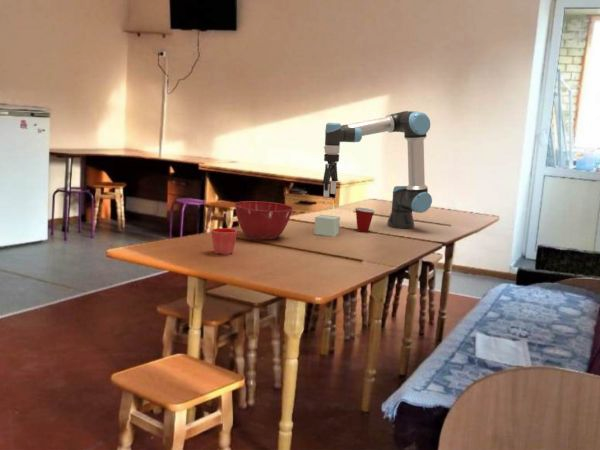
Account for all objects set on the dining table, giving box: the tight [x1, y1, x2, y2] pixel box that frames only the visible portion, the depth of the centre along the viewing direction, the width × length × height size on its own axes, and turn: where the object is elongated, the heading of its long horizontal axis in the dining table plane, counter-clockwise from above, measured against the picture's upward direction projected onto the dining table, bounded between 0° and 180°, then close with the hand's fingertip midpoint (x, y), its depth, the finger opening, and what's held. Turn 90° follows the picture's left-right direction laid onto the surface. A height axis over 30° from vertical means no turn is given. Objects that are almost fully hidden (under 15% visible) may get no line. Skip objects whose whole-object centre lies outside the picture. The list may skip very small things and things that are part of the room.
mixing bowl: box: [233, 200, 294, 240], centre depth 330 cm, size 28×28×16 cm
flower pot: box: [210, 227, 238, 255], centre depth 290 cm, size 11×11×10 cm
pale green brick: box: [313, 214, 341, 237], centre depth 350 cm, size 10×10×9 cm
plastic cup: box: [354, 206, 376, 233], centre depth 365 cm, size 11×11×12 cm
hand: (329, 195), depth 351 cm, fingers open, 13 cm apart
